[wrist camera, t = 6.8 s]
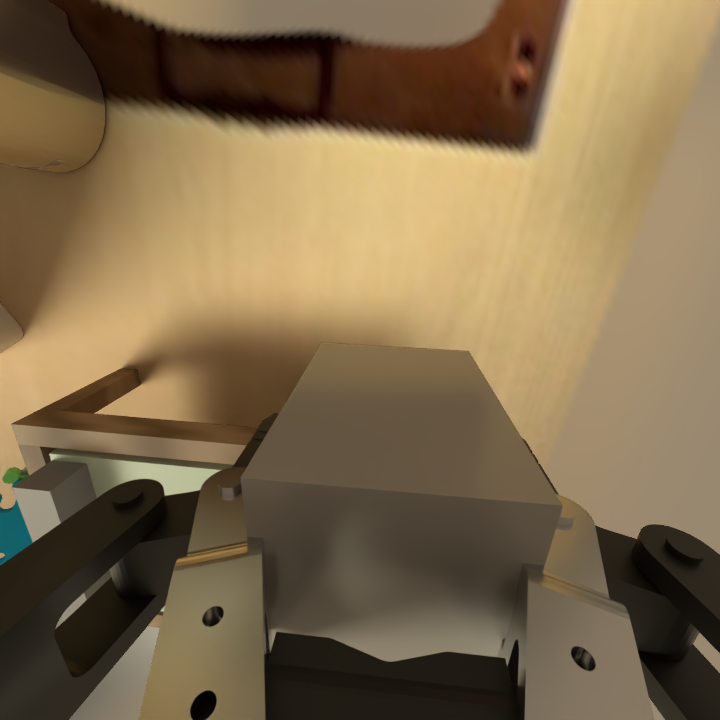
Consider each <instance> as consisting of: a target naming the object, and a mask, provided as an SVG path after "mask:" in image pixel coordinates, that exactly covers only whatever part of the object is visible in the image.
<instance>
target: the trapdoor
mask: <svg viewBox="0 0 720 720" xmlns="http://www.w3.org/2000/svg"><path fill="white" fill-rule="evenodd" d="M49 455H50V458H51V461H50V462H49V463H48V464H46V465H45V466H43V467H42V468H40V469H39V470H37V471H36V472H34V473H33V474H31V475H30V476H28V477H27V478H25V479H24V480H22V481H21V482H19V483H18V484H16V485H15V486H13V487H12V489H13V492H14V494H15V497H16V500H17V502H18V505H19V508H20V510H21V513H22V515H23V518H24V521H25V523H26V526H27V528H28V531H29V534H30V536H31V539H32V542H35V541H36V540H38V539H39V538H40V537H42V536H43V535H45V534H46V533H48V532H49V531H50V530H52V529H53V528H55V527H56V526H58V525H59V524H60V523H62V522H63V521H65V520H66V519H68V518H69V517H70V516H72V515H73V514H75V513H76V512H78V511H79V510H81V509H82V508H83V507H85V506H86V505H88V504H89V503H91V502H92V501H93V500H95V499H96V498H98V497H99V496H101V495H102V494H103V493H105V492H106V491H108V490H110V489H111V488H113V487H115V486H117V485H119V484H122V483H125V482H128V481H132V480H137V479H152V480H156V481H158V482H160V483H161V484H162V486H163V488H164V493H165V496H166V495H173V494H180V493H187V492H193V491H198V490H200V489H201V486H202V485H203V483H204V482H205V481H206V480H207V479H208V478H209V477H210V476H212V475H213V474H215V473H217V472H218V471H221V470H223V469H227V468H231V467H233V465H231V464H220V463H210V462H199V461H189V460H178V459H168V458H157V457H147V456H136V455H125V454H115V453H104V452H94V451H83V450H73V449H62V448H57V449H55V450H54V451H52V452H51V453H49ZM110 578H111V574H110V570H108V571H107V572H106V573H105V574H104V575H103V576H102V577H101V578H100V579H98V580H97V581H96V582H95V583H94V584H93V585H92V586H91V587H90V588H89V589H88V590H86V591H85V592H84V593H83V594H82V595H81V596H80V597H79V598H78V599H77V600H75V601H74V602H73V603H72V604H71V605H70V606H69V607H68V608H67V609H66V611H65V612H64V613H63V614H62V616H61V617H62V620H63V622H64V621H65V620H66V619H67V618H68V617H69V616H70V615H71V614H72V613H73V612H75V611H76V610H77V609H78V608H79V607H80V606H81V605H82V604H83V603H84V602H85V601H86V600H87V599H88V598H89V597H91V596H92V595H93V594H94V593H95V592H96V591H97V590H98V589H99V588H100V587H101V586H102V585H103V584H104V583H105V582H107V581H108V580H109V579H110ZM164 608H165V606H164V607H163V608H162V610H161V611H162V612H164Z"/></svg>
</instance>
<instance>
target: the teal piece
mask: <svg viewBox="0 0 720 720" xmlns="http://www.w3.org/2000/svg"><path fill="white" fill-rule="evenodd" d="M28 476H29V473H28V471H27V468H26V467H25V468H24V469H23V470H21V471H20V469H18V468H10V469H8V470H7V471H6V473H5V474H4V476H3V481H4V482H5V483H8V484H10V483H13V485H12V487H13V486H15V485H16V484H18V483H19V482H21V481H22V480H24V479H25V478H27V477H28ZM12 490H13V489H12ZM1 500H2V495H1V494H0V502H1ZM32 543H33V542H32V539H31V536H30V534H29V531H28V528H27V526H26V523H25V521H24V518H23V515H22V513H21V510H20V508H19V505H18V502H17V500H16V502H15V505H14V506H13V507H12V508H9V509H2V508H1V507H0V553H4V554H5V556H4V557H3V558H0V565H2V564H3V563H5V562H6V561H7V560H9V559H10V558H12V557H13V556H15V555H16V554H17V553H19V552H20V551H22V550H23V549H25V548H26V547H28V546H29V545H30V544H32Z"/></svg>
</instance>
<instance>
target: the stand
mask: <svg viewBox="0 0 720 720" xmlns="http://www.w3.org/2000/svg"><path fill="white" fill-rule="evenodd" d="M138 386H140V384H139V379H138V374H137V370H131V369H119V370H117V371H115V372H113V373H111V374H109V375H107V376H105V377H103V378H101V379H99V380H97V381H95V382H93V383H91V384H89V385H88V386H86V387H84V388H82V389H80V390H78V391H76V392H74V393H72V394H70V395H68V396H66V397H64V398H62V399H60V400H58V401H56V402H54V403H52V404H50V405H48V406H46V407H44V408H42V409H40V410H38V411H36V412H34V413H32V414H30V415H28V416H26V417H24V418H22V419H20V420H18V421H16V422H14V423H12V424H11V426H12V428H13V431H14V434H15V437H16V440H17V442H18V445H19V448H20V451H21V454H22V457H23V459H24V462H25V465H26V468H27V471H28V473H29V476H30V475H31V474H33V473H34V472H36V471H37V470H39V469H40V468H42V467H43V466H45V465H46V464H48V463H49V462H50V461H51V458H50V455H49V453H51V452H52V451H54V450H55V449H57V448H62V449H73V450H83V451H94V452H104V453H115V454H125V455H136V456H147V457H157V458H168V459H178V460H189V461H199V462H210V463H220V464H231V465H234V464H235V462H236V461H237V459H238V458H239V456H240V455H241V453H242V452H243V450H244V449H245V447H246V446H247V444H248V443H249V441H251V438H252V436H253V435H254V433H256V430H257V429H258V428H254V427H243V426H231V425H220V424H208V423H196V422H185V421H173V420H162V419H150V418H138V417H127V416H115V415H104V414H94V413H95V412H97V411H99V410H100V409H102V408H104V407H105V406H107V405H108V404H110V403H112V402H113V401H115V400H117V399H118V398H120V397H122V396H123V395H125V394H127V393H128V392H130V391H131V390H133V389H135V388H136V387H138ZM162 616H163V612H162V611H160V612H159V613H158V614H157V615H156V617H155V618H154V619H153V620H152V621H151V623H150V624H149V625H148V626H151V627H158V628H160V625H161V621H162Z"/></svg>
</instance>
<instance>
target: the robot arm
mask: <svg viewBox="0 0 720 720" xmlns="http://www.w3.org/2000/svg"><path fill="white" fill-rule="evenodd" d="M104 127H105V103H104V97H103V92H102V88H101V85H100V82H99V79H98V76H97V73H96V71H95V69H94V67H93V65H92V63H91V61H90V60H89V58H88V56H87V54H86V53H85V51H84V50H83V49H82V47H81V46H80V45H79V43H78V42H77V41H76V40H75V38H74V37H73V35H72V33H71V31H70V28H69V24H68V19H67V15H66V13H65V12H64V11H63V10H61V9H60V8H58V7H57V6H55V5H54V4H52V3H51V2H49V1H48V0H0V163H2V164H8V165H14V166H17V167H22V168H27V169H34V170H45V171H51V172H58V173H59V172H69V171H73V170H75V169H78V168H80V167H82V166H83V165H84V164H86V163H87V162H88V161H90V160H91V158H92V157H93V156H94V154H95V153H96V151H97V150H98V148H99V145H100V143H101V140H102V138H103V133H104ZM278 415H279V413H274V414H272V415H271V416H269V417H268V418H266V419H265V420H263V421H262V423H261V424H260V426H259V427H258V429H257V430H256V433H254V435H253V436H252V438H251V441H249V443H248V444H247V446H246V447H245V449H244V450H243V452H242V453H241V455H240V456H239V458H238V459H237V461H236V462H235V464H234V465H233V467H231V468H227V469H223V470H221V471H218V472H217V473H215V474H213V475H212V476H210V477H209V478H208V479H207V480H206V481H205V482H204V483H203V485H202V486H201V489H200V490H198V491H193V492H187V493H180V494H173V495H166V496H165V493H164V488H163V486H162V484H161V483H160V482H158V481H156V480H152V479H137V480H132V481H128V482H125V483H122V484H119V485H117V486H115V487H113V488H111V489H110V490H108V491H106V492H105V493H103V494H102V495H101V496H99V497H98V498H96V499H95V500H93V501H92V502H91V503H89V504H88V505H86V506H85V507H83V508H82V509H81V510H79V511H78V512H76V513H75V514H73V515H72V516H70V517H69V518H68V519H66V520H65V521H63V522H62V523H60V524H59V525H58V526H56V527H55V528H53V529H52V530H50V531H49V532H48V533H46V534H45V535H43V536H42V537H40V538H39V539H38V540H36V541H35V542H33V543H32V544H30V545H29V546H28V547H26V548H25V549H23V550H22V551H20V552H19V553H17V554H16V555H15V556H13V557H12V558H10V559H9V560H7V561H6V562H5V563H3V564H2V565H0V720H69V719H70V717H71V716H72V715H73V714H74V713H75V711H76V710H77V709H78V708H79V707H80V706H81V704H82V703H83V702H84V701H85V700H86V698H87V697H88V696H89V695H90V693H91V692H92V691H93V690H94V689H95V688H96V687H97V685H98V684H99V683H100V682H101V681H102V679H103V678H104V677H105V676H106V675H107V674H108V672H109V671H110V670H111V669H112V668H113V666H114V665H115V664H116V663H117V662H118V661H119V659H120V658H121V657H122V656H123V655H124V653H125V652H126V651H127V650H128V649H129V647H130V646H131V645H132V644H133V643H134V641H135V640H136V639H137V638H138V637H139V636H140V634H141V633H142V632H143V631H144V630H145V629H146V627H147V626H148V625H149V624H150V623H151V621H152V620H153V619H154V618H155V617H156V615H157V614H158V613H159V612H160V611H161V610H162V608H163V607H164V606H165V608H164V612H163V616H162V621H161V625H160V629H159V633H158V638H157V642H156V646H155V651H154V655H153V659H152V663H151V668H150V672H149V676H148V680H147V685H146V689H145V693H144V698H143V702H142V706H141V710H140V715H139V719H138V720H654V717H653V712H652V708H651V704H650V700H649V698H650V699H651V701H652V702H653V703H654V705H655V706H656V707H657V709H658V710H659V712H660V713H661V714H662V716H663V717H664V718H665V720H720V673H719V672H718V671H717V670H716V669H715V668H714V667H713V666H712V665H711V663H710V662H709V661H708V660H707V659H706V658H705V657H704V656H703V655H702V654H701V653H700V651H699V650H697V648H696V647H695V646H694V645H693V642H694V641H695V639H696V637H697V636H698V634H699V633H701V634H702V635H703V636H704V637H705V638H706V639H707V640H708V641H709V643H710V644H711V645H712V646H713V647H714V648H715V649H716V650H717V651H718V652H719V653H720V555H719V554H718V553H717V552H715V551H714V550H713V549H712V548H710V547H709V546H708V545H706V544H705V543H703V542H702V541H700V540H699V539H697V538H695V537H693V536H691V535H690V534H687V533H685V532H683V531H680V530H678V529H675V528H672V527H669V526H664V525H647V526H645V527H643V528H642V529H641V531H640V533H639V535H638V538H637V539H635V538H632V537H628V536H625V535H622V534H618V533H615V532H612V531H609V530H606V529H603V528H600V527H598V526H595V523H594V521H593V519H592V517H591V516H590V515H589V513H588V512H587V511H586V510H585V509H584V508H582V507H581V506H580V505H579V504H577V503H576V502H574V501H572V500H570V499H568V498H566V497H564V496H561V495H559V494H558V493H557V491H556V490H555V488H554V486H553V485H552V483H551V482H550V480H549V478H548V477H547V475H546V473H545V472H544V470H543V468H542V467H541V465H540V464H538V460H537V459H536V457H535V455H534V454H532V451H531V449H530V447H529V446H528V444H527V442H526V441H525V440H524V439H523V438H522V439H523V441H524V442H525V444H526V446H527V447H528V449H529V451H530V452H531V454H532V456H533V457H534V459H535V460H536V462H537V464H538V465H539V467H540V469H541V470H542V472H543V474H544V475H545V477H546V479H547V480H548V482H549V483H550V485H551V487H552V488H553V490H554V492H555V493H556V495H557V497H558V498H559V500H560V501H561V503H562V505H563V507H562V511H561V514H560V517H559V520H558V524H557V527H556V530H555V533H554V537H553V540H552V543H551V546H550V550H549V553H548V556H547V559H546V563H545V565H535V564H525V563H523V565H522V568H521V572H520V575H519V579H518V583H517V593H516V600H515V605H514V610H513V614H512V617H511V621H510V624H509V628H508V631H507V635H506V639H505V640H502V641H501V644H500V648H499V652H498V655H497V657H491V656H482V655H474V654H465V653H456V652H448V651H447V652H441V653H436V654H431V655H426V656H420V657H415V658H410V659H405V660H399V661H394V662H388V661H383V660H381V659H378V658H376V657H374V656H371V655H369V654H367V653H364V652H362V651H360V650H357V649H355V648H353V647H350V646H348V645H346V644H344V643H341V642H339V641H337V640H334V639H332V638H327V637H318V636H309V635H301V634H292V633H283V632H276V635H275V638H274V642H273V645H272V630H271V619H270V614H269V607H268V596H267V585H266V570H265V553H264V542H263V538H257V537H247V532H246V523H245V514H244V505H243V496H242V487H241V476H242V474H243V473H244V471H245V469H246V468H247V466H248V464H249V463H250V461H251V459H252V458H253V456H254V454H255V453H256V451H257V449H258V448H259V446H260V444H261V443H262V441H263V440H264V438H265V436H266V435H267V433H268V431H269V430H270V428H271V426H272V425H273V423H274V421H275V420H276V418H277V416H278ZM108 570H110V574H111V578H110V579H109V580H108V581H107V582H105V583H104V584H103V585H102V586H101V587H100V588H99V589H98V590H97V591H96V592H95V593H94V594H93V595H92V596H91V597H89V598H88V599H87V600H86V601H85V602H84V603H83V604H82V605H81V606H80V607H79V608H78V609H77V610H76V611H75V612H73V613H72V614H71V615H70V616H69V617H68V618H67V619H66V620H65V621H64V622H63V623H62V624H61V625H60V626H59V627H57V628H56V625H57V623H58V621H59V619H60V617H61V616H62V614H63V613H64V612H65V611H66V609H67V608H68V607H69V606H70V605H71V604H72V603H73V602H74V601H75V600H77V599H78V598H79V597H80V596H81V595H82V594H83V593H84V592H85V591H86V590H88V589H89V588H90V587H91V586H92V585H93V584H94V583H95V582H96V581H97V580H98V579H100V578H101V577H102V576H103V575H104V574H105V573H106V572H107V571H108ZM55 628H56V629H55Z"/></svg>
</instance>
